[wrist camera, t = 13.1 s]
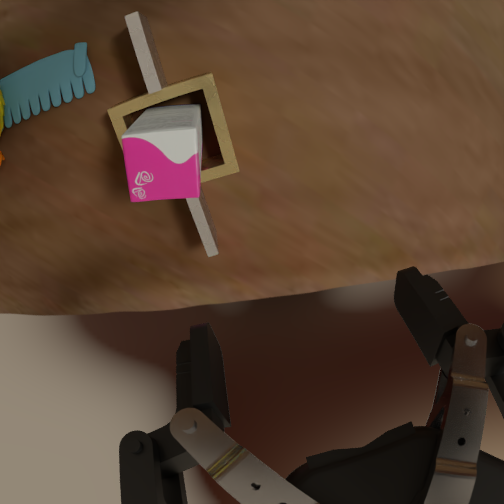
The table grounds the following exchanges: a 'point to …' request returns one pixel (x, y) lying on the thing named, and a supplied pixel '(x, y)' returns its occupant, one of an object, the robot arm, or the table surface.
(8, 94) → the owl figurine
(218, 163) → the square frame with handle
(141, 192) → the supplement box
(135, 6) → the table surface
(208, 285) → the table surface
